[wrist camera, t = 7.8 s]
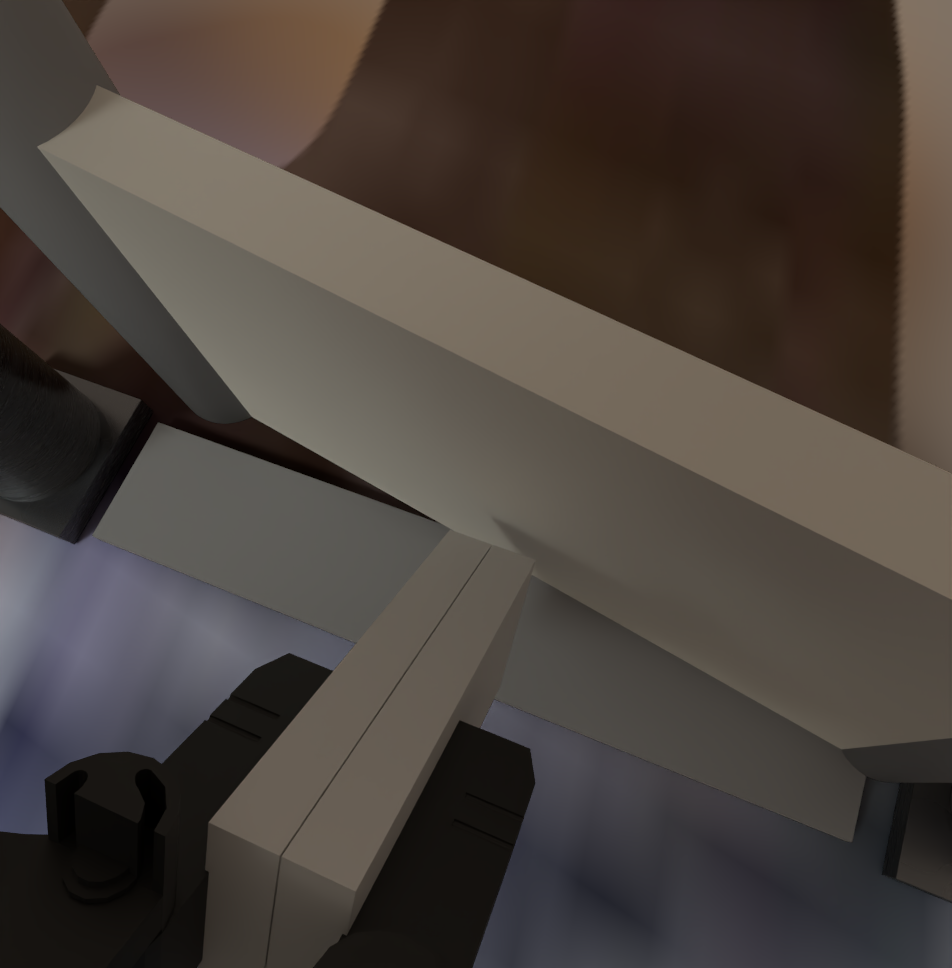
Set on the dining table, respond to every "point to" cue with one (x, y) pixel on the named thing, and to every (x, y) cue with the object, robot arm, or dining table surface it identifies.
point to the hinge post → (922, 839)
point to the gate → (501, 409)
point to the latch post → (58, 441)
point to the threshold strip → (537, 641)
